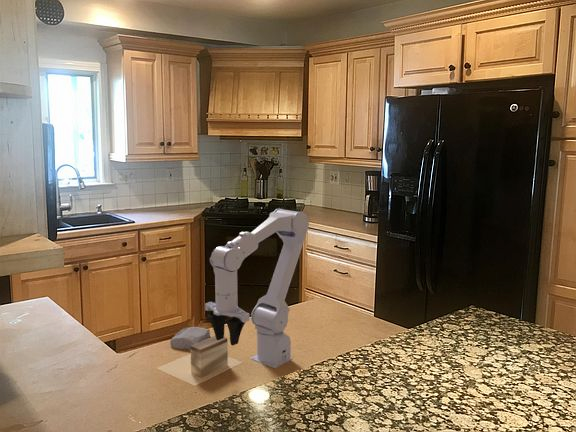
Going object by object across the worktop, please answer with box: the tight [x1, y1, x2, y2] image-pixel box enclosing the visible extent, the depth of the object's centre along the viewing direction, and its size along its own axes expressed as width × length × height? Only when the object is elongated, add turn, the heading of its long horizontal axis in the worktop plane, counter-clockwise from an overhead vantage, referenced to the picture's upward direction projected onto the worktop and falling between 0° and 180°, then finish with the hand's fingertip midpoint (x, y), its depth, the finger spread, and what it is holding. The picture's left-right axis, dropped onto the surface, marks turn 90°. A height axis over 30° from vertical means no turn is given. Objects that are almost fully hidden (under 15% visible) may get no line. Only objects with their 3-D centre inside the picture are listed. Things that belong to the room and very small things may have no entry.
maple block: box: [189, 335, 229, 378], centre depth 147 cm, size 4×10×8 cm, turn 141°
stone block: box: [169, 326, 211, 350], centre depth 167 cm, size 12×5×10 cm
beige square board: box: [155, 353, 243, 387], centre depth 150 cm, size 16×18×1 cm
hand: (227, 341), depth 142 cm, fingers open, 5 cm apart
